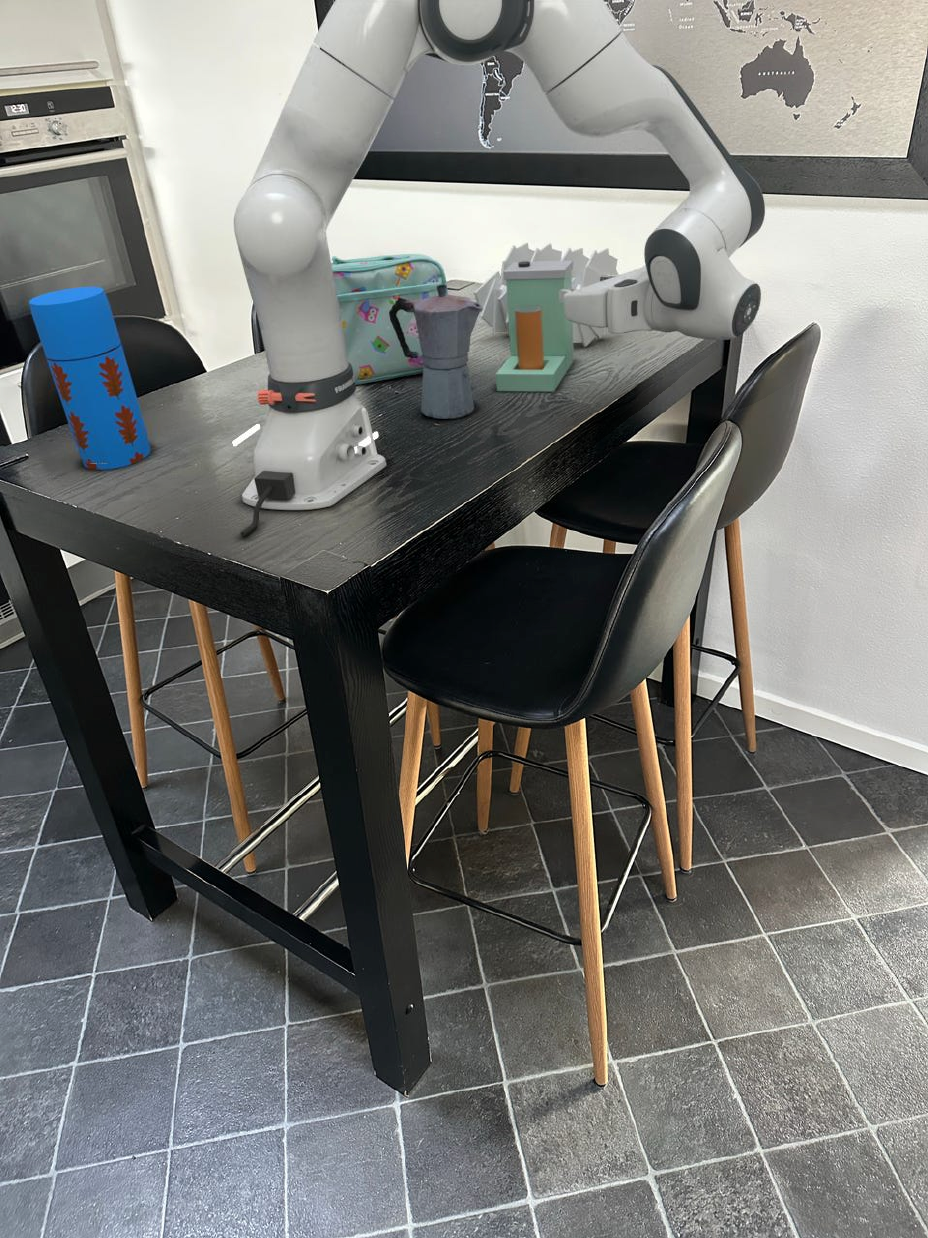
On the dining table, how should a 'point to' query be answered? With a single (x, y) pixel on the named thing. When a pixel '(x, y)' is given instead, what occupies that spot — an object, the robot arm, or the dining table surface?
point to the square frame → (531, 375)
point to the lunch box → (383, 311)
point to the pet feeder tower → (542, 303)
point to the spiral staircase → (582, 273)
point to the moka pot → (442, 350)
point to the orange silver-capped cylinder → (529, 337)
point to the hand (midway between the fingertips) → (582, 287)
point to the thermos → (91, 376)
